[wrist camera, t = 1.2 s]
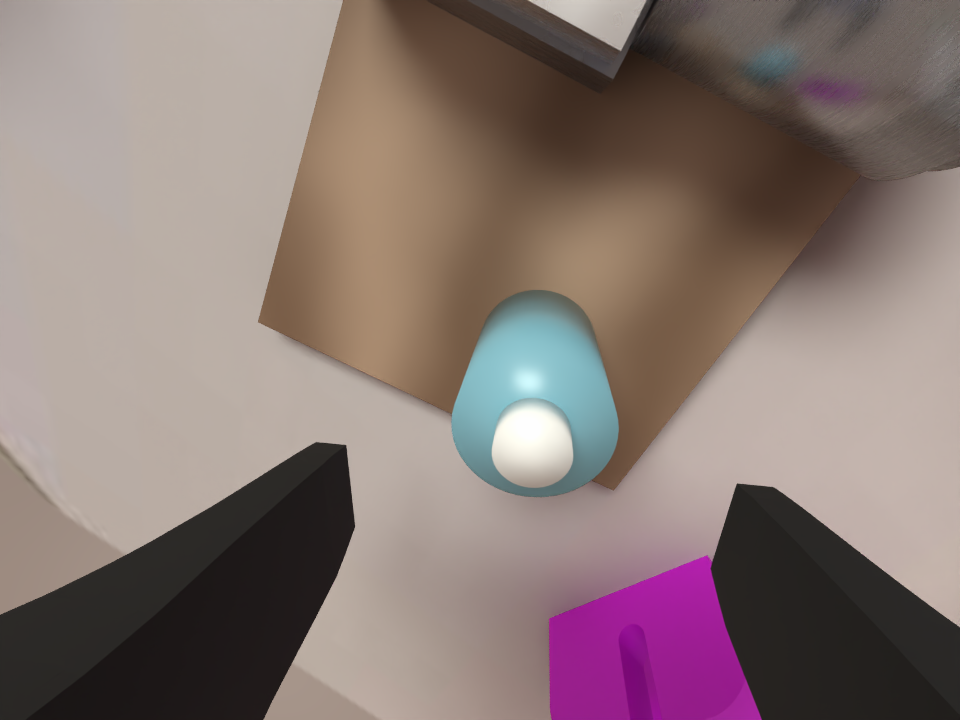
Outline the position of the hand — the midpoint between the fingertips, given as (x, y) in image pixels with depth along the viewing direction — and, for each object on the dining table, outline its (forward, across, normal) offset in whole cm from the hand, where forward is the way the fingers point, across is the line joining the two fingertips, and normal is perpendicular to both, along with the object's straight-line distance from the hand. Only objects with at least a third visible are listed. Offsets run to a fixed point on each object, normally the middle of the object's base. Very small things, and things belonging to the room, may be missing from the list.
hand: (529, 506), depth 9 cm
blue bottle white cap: (+8, 0, 0) cm, 8 cm away
